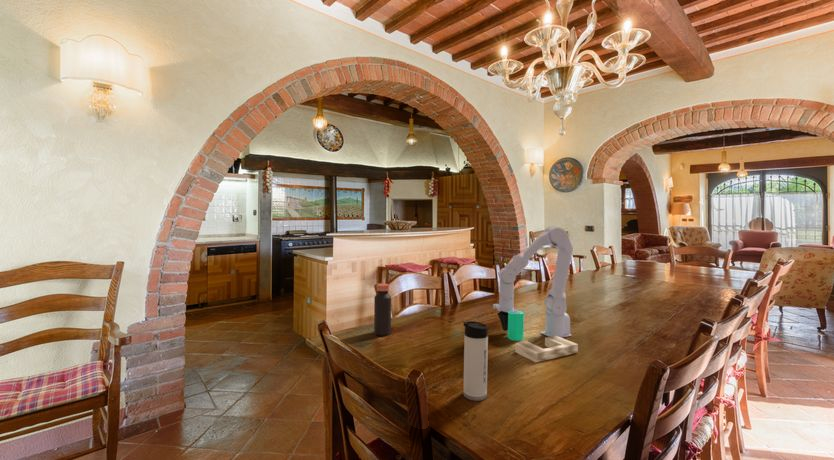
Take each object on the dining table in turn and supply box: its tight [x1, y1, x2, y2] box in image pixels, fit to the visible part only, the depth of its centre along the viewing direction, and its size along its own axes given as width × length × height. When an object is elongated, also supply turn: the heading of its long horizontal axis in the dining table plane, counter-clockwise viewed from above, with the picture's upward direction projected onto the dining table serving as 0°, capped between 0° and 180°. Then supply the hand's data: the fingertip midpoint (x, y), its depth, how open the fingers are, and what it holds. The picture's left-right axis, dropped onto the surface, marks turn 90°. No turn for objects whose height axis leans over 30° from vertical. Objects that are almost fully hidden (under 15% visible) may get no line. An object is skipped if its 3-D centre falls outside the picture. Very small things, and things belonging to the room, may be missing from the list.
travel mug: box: [462, 320, 489, 402], centre depth 97 cm, size 6×7×20 cm
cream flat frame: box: [514, 336, 579, 363], centre depth 128 cm, size 20×10×3 cm, turn 116°
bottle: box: [373, 283, 392, 337], centre depth 146 cm, size 7×7×20 cm
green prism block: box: [507, 310, 525, 342], centre depth 142 cm, size 6×6×12 cm
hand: (505, 330), depth 147 cm, fingers closed
